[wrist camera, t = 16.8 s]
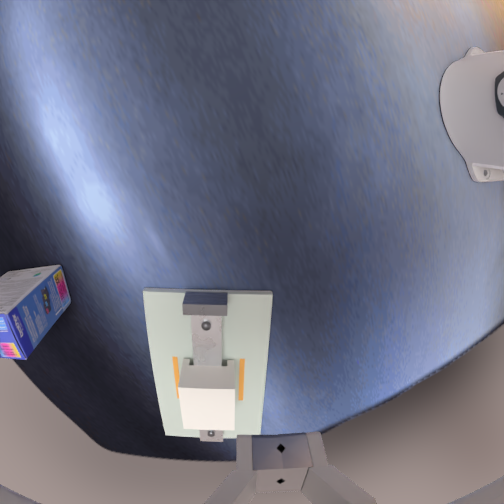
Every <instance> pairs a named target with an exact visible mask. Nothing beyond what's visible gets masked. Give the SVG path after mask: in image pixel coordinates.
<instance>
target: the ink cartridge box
mask: <svg viewBox="0 0 504 504" xmlns="http://www.w3.org/2000/svg"><path fill="white" fill-rule="evenodd" d="M70 303H71V298H70V295H69V291H68V288H67V284H66V280H65V277H64V273H63V269H62V266H61V265H53V266H46V267H38V268H31V269H24V270H17V271H9V272H7V273H6V274H4V275H3V276H2V277H0V358H10V359H24V360H27V358H28V357H29V355H30V354H31V353H32V351H33V350H34V349H35V347H36V346H37V345H38V344H39V342H40V341H41V339H42V338H43V337H44V336H45V334H46V333H47V332H48V331H49V329H50V328H51V327H52V326H53V324H54V323H55V322H56V321H57V319H58V318H59V317H60V316H61V314H62V313H63V312H64V311H65V310H66V308H67V307H68V306H69V305H70Z"/></svg>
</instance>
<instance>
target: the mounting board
mask: <svg viewBox="0 0 504 504" xmlns="http://www.w3.org/2000/svg"><path fill="white" fill-rule="evenodd" d="M186 291H194V292H228V300H227V316H222V366H227V360H234V370H235V430H223V438H237V435H260V431H261V421H262V411H263V401H264V391H265V380H266V369H267V358H268V347H269V335H270V323H271V311H272V298H273V294H272V291H248V290H200V289H169V288H144V290H143V298H144V308H145V317H146V325H147V333H148V340H149V347H150V354H151V361H152V367H153V373H154V379H155V385H156V390H157V396H158V401H159V406H160V411H161V416H162V421H163V426H164V430H165V435H171V436H185V437H200V431H199V430H197V429H184V427H183V421H182V414H181V407H180V400H179V393H178V384H179V378H180V373H181V368H182V363H183V359H190V365H194V362H193V347H192V329H191V315H183V308H182V303H183V300H184V296H185V293H186Z"/></svg>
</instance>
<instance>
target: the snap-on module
mask: <svg viewBox="0 0 504 504" xmlns="http://www.w3.org/2000/svg"><path fill="white" fill-rule="evenodd" d="M178 393H179V400H180V407H181V414H182V421H183V427H184V429H197V430H235V370H234V360H227V366H198V365H190V359H183V363H182V368H181V373H180V378H179V384H178Z"/></svg>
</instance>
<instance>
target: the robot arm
mask: <svg viewBox="0 0 504 504" xmlns="http://www.w3.org/2000/svg"><path fill="white" fill-rule="evenodd" d="M440 105H441V112H442V117H443V120H444V124H445V127H446V130H447V132H448V134H449V136H450V138H451V140H452V142H453V144H454V145H455V147H456V148H457V150H458V151H459V152H460V154H461V155H462V156H463V158H464V159H465V161H466V164H467V167H468V170H469V173H470V176H471V178H472V180H473V181H475V182H491V181H504V50H501V51H493V52H486V53H485V52H484V51H483V50H481V49H480V48H478V47H473V48H470V49H469V50H468V52H467V53H466V55H465V57H464V58H462V59H460V60H457V61H455V62H453V63H452V64H451V65H450V66H449V67H448V68H447V70H446V71H445V73H444V75H443V78H442V82H441V87H440ZM287 491H301V492H302V493H303V494H304V495H305V497H307V499H308V500H309V501H310V502H311V503H312V504H377V503H376V500H375V498H374V497H372V496H371V495H370V494H368V493H367V492H366V491H364V490H363V489H362V488H360V487H359V486H358V485H356V484H355V483H354V482H353V481H352V480H350V479H349V478H348V477H346V476H345V475H344V474H343V473H342V472H340V471H339V470H338V469H336V468H335V467H334V466H333V465H328V461H327V458H326V453H325V449H324V445H323V441H322V437H321V434H320V432H309V433H291V434H278V435H237V470H233V471H232V472H231V473H230V474H229V475H228V476H227V478H226V479H225V480H224V481H223V482H222V483H221V485H220V486H219V487H218V488H217V489H216V490H215V491H214V493H213V494H212V495H211V496H210V497H209V498H208V499H207V500H206V502H205V503H204V504H249V503H250V501H251V500H252V498H253V497H254V495H255V493H267V492H287ZM0 504H41V503H38V502H36V501H33V500H31V499H29V498H27V497H25V496H23V495H20V494H18V493H16V492H14V491H12V490H10V489H8V488H6V487H4V486H2V485H1V484H0ZM448 504H504V476H503V477H501V478H499V479H497V480H496V481H494V482H492V483H490V484H488V485H486V486H484V487H482V488H480V489H478V490H476V491H474V492H472V493H470V494H468V495H466V496H464V497H462V498H459V499H457V500H455V501H453V502H450V503H448Z"/></svg>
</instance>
